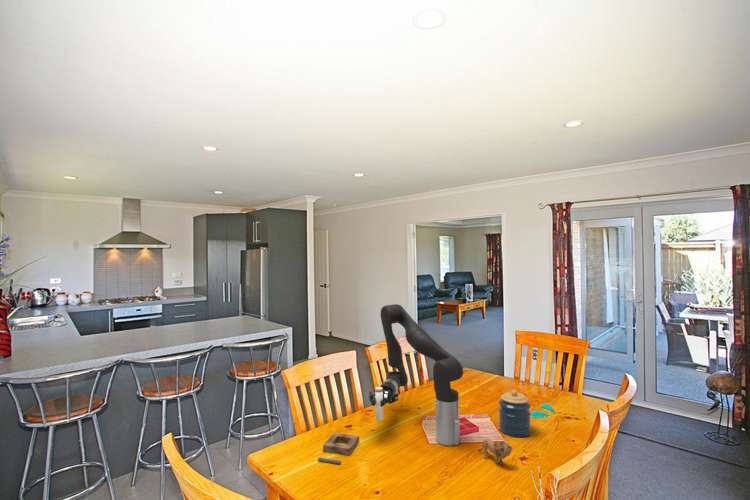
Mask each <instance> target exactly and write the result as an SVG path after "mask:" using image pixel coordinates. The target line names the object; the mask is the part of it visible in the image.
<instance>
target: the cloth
mask: <svg viewBox="0 0 750 500" xmlns="http://www.w3.org/2000/svg"><path fill="white" fill-rule="evenodd" d="M551 403H552V404H553V403H554V402H551ZM540 407H541V408H544V409H547V410H549V411H551V412H553V413H556V412H555V411H554V409H552V407H551V406H550V404H549V403H548V402H545V403H543V404H541V405H540ZM530 413H531V415H532V416H531V415H530V416H531V417H533V418H535V419H544V418H543V417H544V416H545V417H548V416H550V415H548V414H546V413H543V412H540V411H537V408H536V409H535V410H533V411H530ZM534 416H535V417H534ZM537 416H538V417H537ZM539 417H540V418H539Z"/></svg>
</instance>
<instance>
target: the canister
mask: <svg viewBox="0 0 750 500" xmlns="http://www.w3.org/2000/svg"><path fill="white" fill-rule="evenodd" d="M498 404H499V408H498V413H499V414H498V417H499V418H498V419H499V420H498V421H499V422H498V427H499V430H500V431H501V433H502V434H505V435H507V436H510V437H514V438H525V437H528V436H529V435H531V431H532V427H531V411H530V408H531V404H530V403H529V398H528V397H526V396H525V395H524V394H522V393H520V392H518V391H517V390H516V389H512V390H511V391H507V392H505V393H503V394H501V395H500V399H499V400H498Z"/></svg>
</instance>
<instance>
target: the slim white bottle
mask: <svg viewBox="0 0 750 500" xmlns="http://www.w3.org/2000/svg"><path fill="white" fill-rule="evenodd" d="M374 390H375V392H374V393H375V398H376V404H375V420H376V421H377V422H383V421H384V406H383V407H381V400H382V399H383V388H382V387H380V386H376V387H375V389H374Z"/></svg>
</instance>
